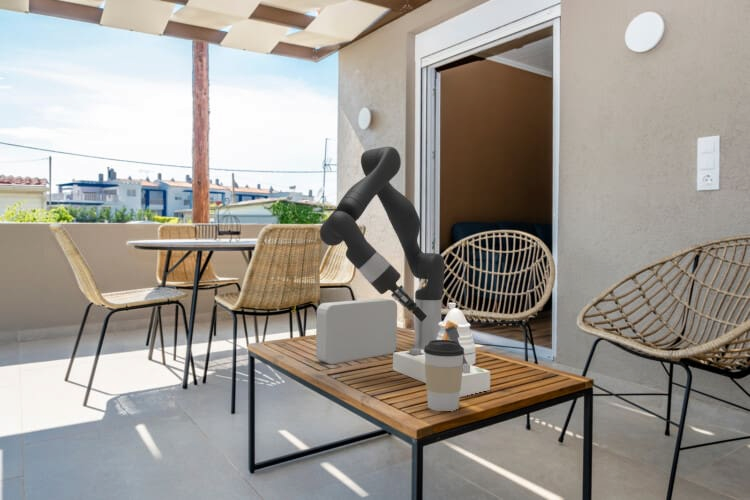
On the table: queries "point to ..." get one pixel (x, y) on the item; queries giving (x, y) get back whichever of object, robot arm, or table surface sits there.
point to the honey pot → (460, 332)
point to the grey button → (414, 351)
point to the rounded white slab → (355, 330)
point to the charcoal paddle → (454, 337)
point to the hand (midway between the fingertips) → (423, 318)
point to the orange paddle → (448, 324)
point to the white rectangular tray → (415, 368)
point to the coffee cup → (443, 374)
